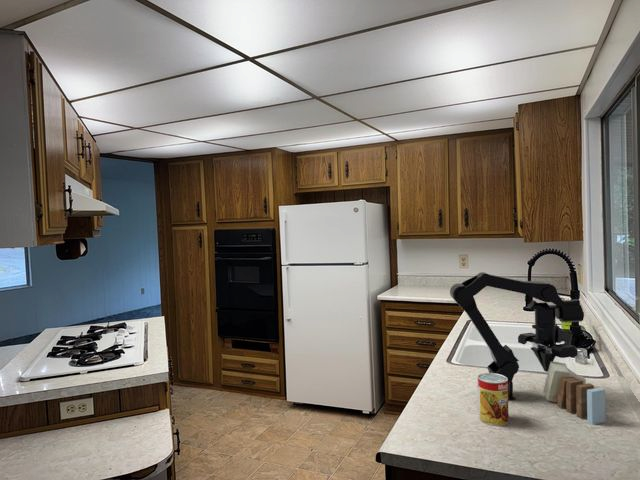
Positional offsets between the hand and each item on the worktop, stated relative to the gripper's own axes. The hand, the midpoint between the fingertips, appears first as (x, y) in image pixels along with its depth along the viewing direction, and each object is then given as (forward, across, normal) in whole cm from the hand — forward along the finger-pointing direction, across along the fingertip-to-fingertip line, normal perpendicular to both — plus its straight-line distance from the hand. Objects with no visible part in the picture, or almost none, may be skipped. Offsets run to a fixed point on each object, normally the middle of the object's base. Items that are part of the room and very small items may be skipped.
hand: (546, 371), depth 136 cm
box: (+7, -2, 0) cm, 8 cm away
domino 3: (+8, -15, +1) cm, 17 cm away
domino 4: (+8, -18, +1) cm, 20 cm away
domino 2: (+8, -11, +1) cm, 14 cm away
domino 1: (+8, -7, 0) cm, 11 cm away
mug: (+9, +5, -13) cm, 17 cm away
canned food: (+8, -8, +26) cm, 28 cm away
